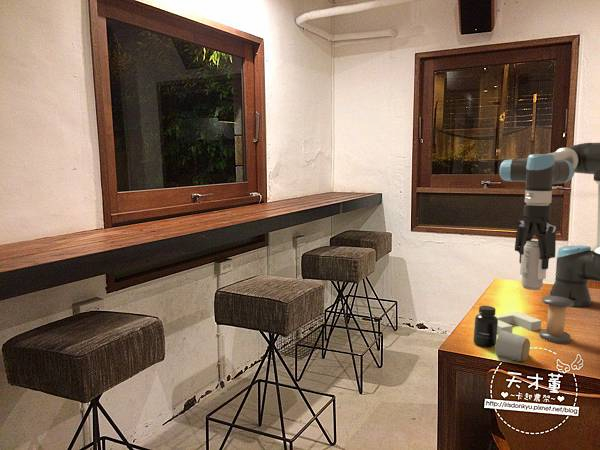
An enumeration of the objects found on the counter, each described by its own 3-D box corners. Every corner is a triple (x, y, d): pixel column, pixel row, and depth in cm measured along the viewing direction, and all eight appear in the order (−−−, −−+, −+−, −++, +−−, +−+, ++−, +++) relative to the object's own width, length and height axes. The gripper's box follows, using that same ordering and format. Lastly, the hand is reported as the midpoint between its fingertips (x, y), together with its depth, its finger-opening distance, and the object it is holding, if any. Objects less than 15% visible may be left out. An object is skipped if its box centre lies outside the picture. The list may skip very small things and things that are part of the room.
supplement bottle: (480, 348, 154) (482, 311, 152) (469, 340, 160) (471, 304, 159) (500, 347, 155) (503, 310, 153) (489, 339, 161) (491, 303, 160)
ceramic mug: (523, 366, 141) (525, 340, 140) (493, 358, 146) (495, 333, 145) (532, 355, 149) (534, 330, 148) (504, 348, 154) (506, 324, 153)
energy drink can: (542, 291, 154) (545, 244, 152) (521, 289, 156) (524, 242, 154) (541, 286, 159) (545, 240, 157) (521, 284, 162) (524, 239, 159)
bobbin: (552, 331, 169) (555, 294, 167) (576, 340, 160) (579, 302, 159) (533, 335, 165) (536, 297, 163) (556, 344, 157) (559, 305, 155)
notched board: (517, 320, 180) (518, 312, 180) (540, 328, 171) (541, 320, 171) (479, 326, 173) (480, 318, 173) (501, 336, 164) (502, 327, 164)
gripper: (504, 201, 161) (500, 271, 164) (555, 207, 144) (549, 285, 147) (521, 200, 164) (517, 268, 167) (573, 206, 147) (567, 282, 150)
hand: (532, 276), depth 157 cm, fingers closed on energy drink can, 6 cm apart
